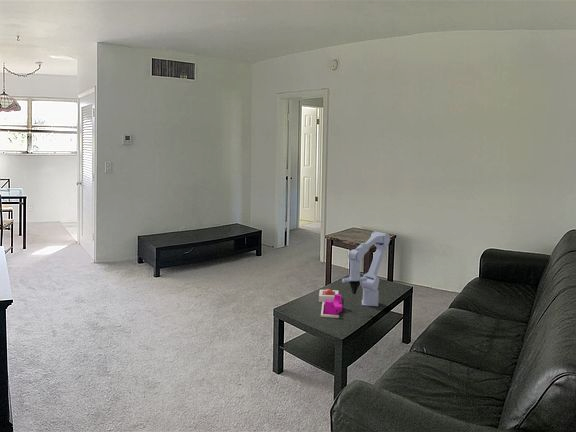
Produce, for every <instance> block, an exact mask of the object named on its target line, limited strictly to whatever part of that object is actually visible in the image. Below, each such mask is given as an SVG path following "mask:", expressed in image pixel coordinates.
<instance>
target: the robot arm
mask: <svg viewBox="0 0 576 432" xmlns="http://www.w3.org/2000/svg"><path fill="white" fill-rule="evenodd" d="M390 242H391V236H390V234H389V233H386V232H381V231H376V230H374V231H372V233H371V235H370V237H369V238H368V240H366V241H365V242H361V243H360V244H359V245H358V246H357V247H356V248H355V249H351V250H350V251H349V252H348V255H347V257H348V259H349V276H348V277H344V278H342V279H341V282H342V283H343V284H344V283H349V285H350V287H351V291H352V292H351V293H352V294H353V295H356V294H357V290H358V288H359V287H361V289H362V300H361V306H367V307H370V306H371V307H379V302H380V299H379V293H380V292H379V289H378V288H379V283H380V279H379V276H378V273H379V270H380V267H381V265H382V261H383V258H384V257H385V254H386V250H387V249H388V247H389V245H390ZM373 245H374V246H375V248H376V250H375V253H374V255H373V258H372V261H371V264H370V267H369V269H368V272H366V273H364V274H363V276H361V261H362V259H363V257H364V256H365V255H366V254H367V253H368V252H369V250H370V248H371V247H373Z"/></svg>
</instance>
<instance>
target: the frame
mask: <svg viewBox="0 0 576 432" xmlns="http://www.w3.org/2000/svg"><path fill="white" fill-rule="evenodd" d="M324 310H325V302H321V311H320V317H321V318H333V319H334V318H336V319H340V315H339V314H337V315H328V314H325V313H324Z"/></svg>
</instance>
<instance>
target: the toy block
mask: <svg viewBox="0 0 576 432" xmlns="http://www.w3.org/2000/svg"><path fill="white" fill-rule="evenodd" d="M342 311H343V295H342V294H339V293H338V294H335V297H334V301H329V300H326V301H325V305H324V314H327V315H339V313H341V312H342Z"/></svg>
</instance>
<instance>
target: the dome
mask: <svg viewBox="0 0 576 432" xmlns="http://www.w3.org/2000/svg"><path fill="white" fill-rule="evenodd" d="M324 290H325V291H324V292H323V295H335V293H334V292H333V291H332V290H333V289H330V288H326V289H324Z"/></svg>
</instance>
